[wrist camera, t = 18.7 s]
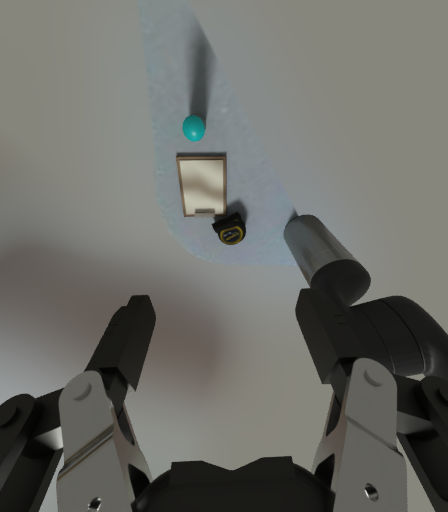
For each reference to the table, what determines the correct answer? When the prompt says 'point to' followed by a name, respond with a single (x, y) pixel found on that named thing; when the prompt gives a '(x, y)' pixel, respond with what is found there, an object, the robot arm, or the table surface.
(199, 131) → the marker
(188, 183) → the clipboard
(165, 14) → the table surface
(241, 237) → the tape measure
